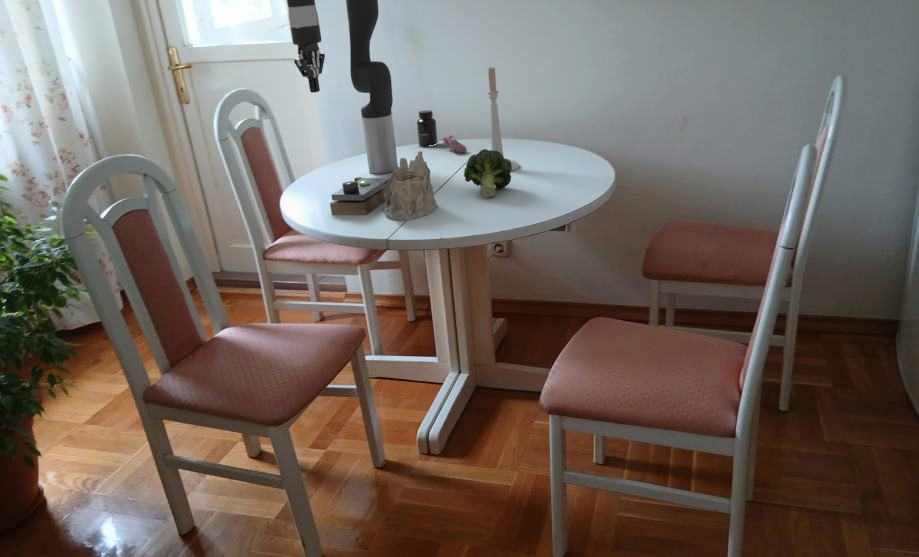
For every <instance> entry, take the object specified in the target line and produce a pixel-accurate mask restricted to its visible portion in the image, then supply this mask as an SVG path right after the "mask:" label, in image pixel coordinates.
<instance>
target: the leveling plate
mask: <svg viewBox="0 0 919 557" xmlns="http://www.w3.org/2000/svg"><path fill="white" fill-rule="evenodd" d="M389 179H390V177H361V179H359V180H357V181H355V180H353V181H345V182H343V183H342V184H341V185H342V188H341V189H339V190H337V191H336V192H334V193H332V194H331V200H332V201H334V200H362V201H364V200H365V199H367V198H368V197H370V196H372V195H373V194H375V193H377V192H378V191H380V190H381V189H383V187H384V185H385V184H386V183H387V182H388V180H389Z"/></svg>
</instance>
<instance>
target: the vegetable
mask: <svg viewBox="0 0 919 557" xmlns="http://www.w3.org/2000/svg"><path fill="white" fill-rule="evenodd" d="M503 156H504V154H503V155H502V154H501V153H500V152H498V151H496V150H495V151H494V150H491V149H490V150H489V149H486V148H484V149H480V150H479V151H478V153H475V154H472V155H470V156H469V158H468V160H467V163H466V164H465V165H466V167H465V168H464V171H463V177H464V180H465V181H466V183H469V182H471V181H472V183H473V184H474V185H476V186H477V187H479V186H480V195H481V197H482V198H483V199H492V198H493V197H495V196H496V193H497V192H496V189H497V190H502V189H503V188H504V189H505V187H507V186H508V185H510V183H511V181H512V175H511V169H512V165H511V162H510V160H511V159H510V160H508V159H509V158H505V156H504V157H503ZM504 158H505V159H504Z"/></svg>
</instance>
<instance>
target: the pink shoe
mask: <svg viewBox="0 0 919 557" xmlns="http://www.w3.org/2000/svg"><path fill="white" fill-rule="evenodd" d="M442 141H443V142H442V144H443V145H446V146H447V147H448V148H449V150H450V149H451V150H452V151H451V150H450V151H451V152H453V151H454V152H455V153H456V151H457V152H458V153H461V152H466V153H467V151H468V149H467V147H466V146H465V145H463V143H460V142H459V140H457V138H455V136H454V134H453V135H452V134H446V135H445V136H443V138H442ZM454 152H453V153H454Z"/></svg>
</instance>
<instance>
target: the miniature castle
mask: <svg viewBox="0 0 919 557" xmlns="http://www.w3.org/2000/svg"><path fill="white" fill-rule="evenodd" d="M389 178H390V179H389V180H388V182H387V183H386V184H385V185H384V187H383V189H384V190H385V195H384V197H385V199H386V201H385V202H384V203H383V205H382V210H383V212H384V214H385V218H386V219H387V220H391V221H401V222H405V221H406V222H407V221H408V222H409V221H413V220H415V219H419V218H422V217H425V216H428V215H430V214H432V213H434V211H436V210H437V208H438V204H437V200H436V199H435V196H434V195H435V194H434V186H432V184H431V183H432V182H431V170H430V168H429V166H428V164H427V161H425V159H424V156H423V151H421V150H420V151H418V152H417V155H416V156H415V158H414V160H411V159H410V161H409V164H408V160H407V158H406V157H401V158H399V167H398V169H397V170H394V171H393V172H391V175H390V176H389Z"/></svg>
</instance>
